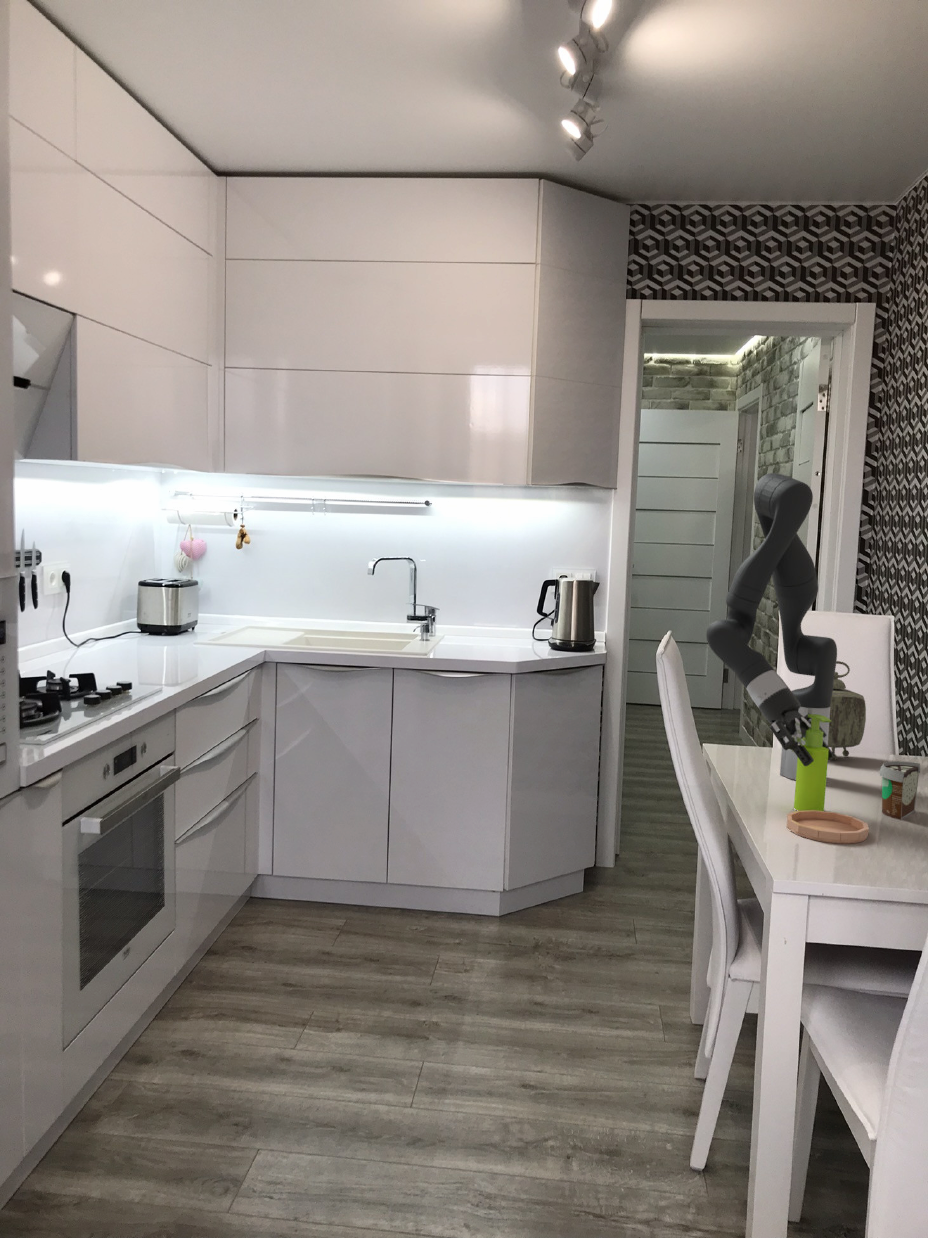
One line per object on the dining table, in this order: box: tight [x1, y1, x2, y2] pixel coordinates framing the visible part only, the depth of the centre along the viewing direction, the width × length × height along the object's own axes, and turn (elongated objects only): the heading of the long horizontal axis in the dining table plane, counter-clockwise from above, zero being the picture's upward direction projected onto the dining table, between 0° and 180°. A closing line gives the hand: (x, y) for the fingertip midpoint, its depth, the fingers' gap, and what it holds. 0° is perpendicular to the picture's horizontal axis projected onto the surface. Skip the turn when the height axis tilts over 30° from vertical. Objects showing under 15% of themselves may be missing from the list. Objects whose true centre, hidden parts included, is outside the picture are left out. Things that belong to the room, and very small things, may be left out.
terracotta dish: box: [786, 810, 870, 844], centre depth 197 cm, size 15×15×2 cm
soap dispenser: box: [793, 714, 831, 811], centre depth 210 cm, size 6×7×20 cm
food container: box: [878, 760, 921, 821], centre depth 213 cm, size 12×6×10 cm, turn 141°
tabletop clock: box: [828, 660, 867, 762], centre depth 261 cm, size 14×9×25 cm, turn 94°
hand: (820, 761), depth 209 cm, fingers open, 8 cm apart
